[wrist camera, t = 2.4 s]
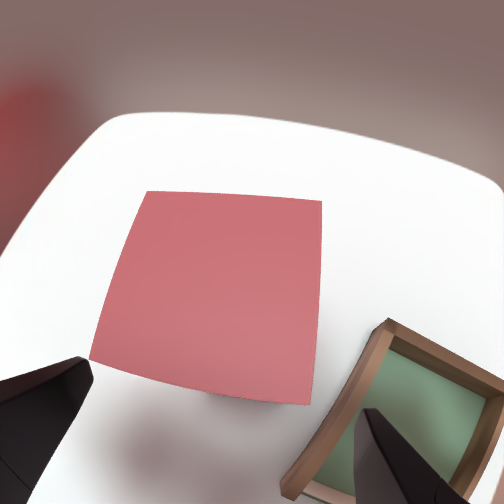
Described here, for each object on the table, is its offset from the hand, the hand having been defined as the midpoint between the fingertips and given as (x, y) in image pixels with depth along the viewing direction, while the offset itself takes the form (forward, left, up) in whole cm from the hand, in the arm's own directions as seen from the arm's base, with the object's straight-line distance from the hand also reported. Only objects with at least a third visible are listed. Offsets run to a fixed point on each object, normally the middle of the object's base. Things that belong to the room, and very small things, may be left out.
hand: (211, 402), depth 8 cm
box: (+3, -11, -10) cm, 15 cm away
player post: (+3, +1, -10) cm, 10 cm away
